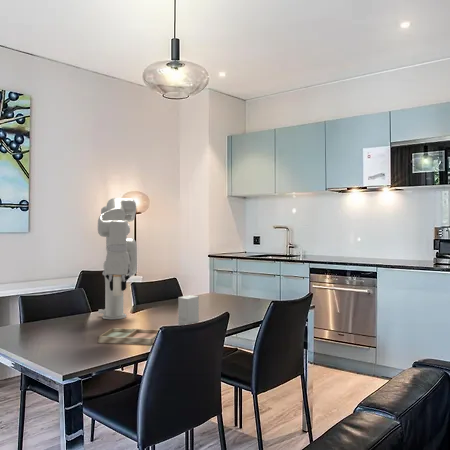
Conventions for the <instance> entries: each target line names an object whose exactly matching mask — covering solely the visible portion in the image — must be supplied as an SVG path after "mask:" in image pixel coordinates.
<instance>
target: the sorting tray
mask: <svg viewBox="0 0 450 450" xmlns="http://www.w3.org/2000/svg"><path fill="white" fill-rule="evenodd" d="M158 330H159V329H151V328H150V329H149V328H148V329H147V328H146V329H145V328H124V327H123V328H122V327H121V328H120V327H119V328H117V327H111V328H109V329H108V330H107V331H105V332H103V333H102V334H100V335H98V336H97V343H98V344H124V345H125V344H127V345H147V346H148V345H151V346H153V345H154V344H153V342H154V339H155V337H156V334H157V332H158ZM152 344H153V345H152Z"/></svg>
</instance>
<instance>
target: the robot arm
mask: <svg viewBox="0 0 450 450" xmlns="http://www.w3.org/2000/svg"><path fill="white" fill-rule="evenodd" d="M136 212H137V204H136V201H135V200H134V199H133V198H130V197H113V198H110V199H109V200H108V201H107V202H106V205H105V206H103V207H102V208H101V210H100V215H99V217H98V220H97V232H98V233H97V234H98V235H99V236H100V237H103V238H105V241H106V242H105V243H106V246H105V250H106V257H105V261H104V263H103V271H102V276H104V283H105V284H104V286H105V287H104V288H105V289H104V291H105V295H104V298H105V299H104V300H105V301H104V302H105V304H104V305H105V306H104V307H105V308H104V309H102V308H101V309H98V314H103V315H101V317H102V319H104V320H111V321H112V320H121V319H125V318H127V314H126V313H125V312H124V294H123V295H122V296H113V275H122V282H121V290H122V291H123V292H124V291H126V289H127V281H128V280H129V279H130V278H131V277H133V276H135V275H136V274H137V270H138V252H137V251H138V250H137V249H138V248H137V242H136V240H135V238H133V237H128V236H129V234H130V232H131V225H130V223H129V222H133V221H134V220H135V218H136V214H137V213H136Z"/></svg>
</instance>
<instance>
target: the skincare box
mask: <svg viewBox="0 0 450 450" xmlns="http://www.w3.org/2000/svg"><path fill="white" fill-rule="evenodd" d="M177 299H178V300H177V302H178V304H177V306H178V308H177V309H178V311H177V312H178V313H177V314H178V317H177V318H178V319H177V320H178V325H185V324H192V323H198V322H200V321H199V312H200V311H199V309H200V308H199V304H200V303H199V302H200V301H199V300H200V299H199V295H193V294H191V295H190V294H188V295H183V296H178V298H177ZM178 325H177V326H178Z"/></svg>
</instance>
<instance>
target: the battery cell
mask: <svg viewBox="0 0 450 450" xmlns="http://www.w3.org/2000/svg"><path fill="white" fill-rule="evenodd" d="M121 282H122V275H113V296H122V295H123V296H124V291H122V290H121Z"/></svg>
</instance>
